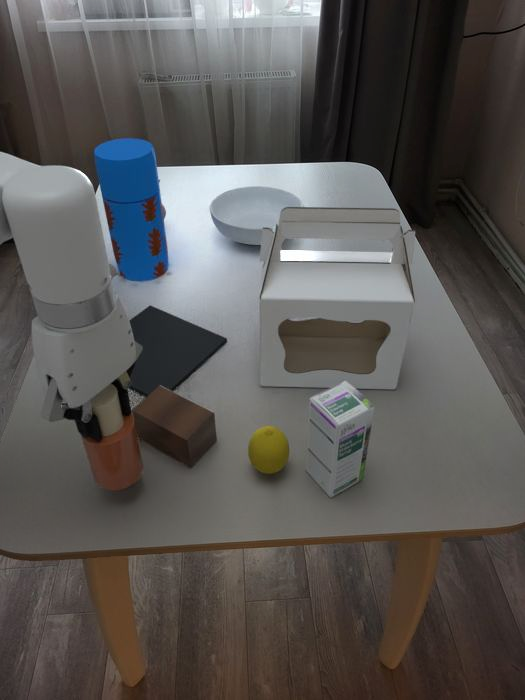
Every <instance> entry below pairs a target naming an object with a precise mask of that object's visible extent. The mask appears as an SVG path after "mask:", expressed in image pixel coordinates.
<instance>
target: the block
mask: <svg viewBox="0 0 525 700" xmlns="http://www.w3.org/2000/svg"><path fill="white" fill-rule="evenodd" d="M131 412H132V414H133V417H134V421H135V426H136V431H137V436H138V440H141V442H142V441H143V442H144V443H146V444H148V446H149V445H150V446H152V447H153V448H154V449H156V450H158V451H160V452H161V453H163V454H165V455H167V456H169V457H171V458H172V459H174V460H176V461H178V462H179V463H181V464H182V465H184V466H186V467H188V468H190V469H192V468H193V467H194V466H195V465H196V464H197V463H198V461H200V459H202V457H204V455H205V454H206V453H207V452H208V451H209V450H210V449H211V448H212V446H214V445H215V443H216V442H217V441H218V439H217V437H218V436H217V427H216V426H217V425H216V415H215V412H214V411H212V410H210V409H208V408H206V407H204V406H202V405H200V404H199V403H196V402H194V401H192V400H190V399H188V398H186V397H185V396H183V395H180V394H179V393H176V392H174V391H173V392H172V391H171V390H169V389H167V388H165V387H163V386H161V385H160V386H159V387H157V388H156V389H155V390H154V391H153V392H152V393H151V394H150V395H148V396H147V397H145V398H144V399H143V400H142V401H140V402H139V403H138V404H137V405H136V406H135V407H133V408H132V409H131Z"/></svg>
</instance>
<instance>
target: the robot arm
mask: <svg viewBox="0 0 525 700" xmlns="http://www.w3.org/2000/svg"><path fill="white" fill-rule="evenodd" d="M11 239H13V242H14V245H15V248H16V250H17V254H18V257H19V260H20V265H21V266H22V270H23V273H24V277H25V279H26V283H27V286H28V289H29V292H30V296H31V299H32V302H33V304H34V308H35V311H36V314H37V315H36V317H34V318H33V319H32V320H31V344H32V351H33V357H34V363H35V367H36V371H37V375H38V379H39V382H40V384H41V388H42V391H43V392H44V393H45V399H44V402H43V405H42V410H41V413H40V415H41V417H42V418H43V419H45V420H47V421H48V422H50V423H55V422H59V421H63V420H68V421H74V422H75V426H76V429H77V432H78V433H79V434H81V435H82V436H84V437H85V438H88V437H90V438H92V439H93V440H95V441H97V442H99V441H100V440H102V437H103V436H102V433H101V429H100V425H99V421H98V418H97V416H96V415H94V414H92V404H91V398H93V397H94V396H95V395H97V394H98V393H99V392H100V391H102V390H103V389H104V388H105V387H107V386H108V385H109V384H110V383H111V384H113V385H114V386H115V387H116V389H117V391H118V396H119V401H120V405H121V410H122V414H123V415H124V416H129V415H130V414H131V413H132V408H131V403H130V402H131V401H130V396H129V389H130V388H129V387H130V385H131V381H130V376H131V373H132V371H133V369H134V366H135V363H134V362H136V360H137V358H138V357H139V355H140V353H141V351H142V349H143V347H142V346H141V345H140V344H138V343H137V342H136V341H134V337H133V333H132V329H131V325H130V322H129V320H130V319H129V316H128V314H127V311H126V308H125V306H124V304H123V302H122V300H121V298H120V296H119V294H118V293H117V292H116V291H115V290H114V284H113V278H115V277H116V276H117V275H118V269H117V268H116V267H115V265H114V264H112V263H109V259H108V252H107V248H106V243H105V238H104V232H103V227H102V221H101V216H100V210H99V207H98V200H97V196H96V192H95V189H94V186H93V183H92V181H91V180H90V179H89V177H88V176H87V175H86V174H85V173H83V172H82V171H81V170H78V169H76V168H73V167H71V166H66V165H38V164H36V163H33V162H30V161H28V160H26V159H22V158H20V157H17V156H14V155H12V154H9V153H6V152H3V151H0V245H2V244H3V243H4V242H7V241H9V240H11ZM63 401H64V402H65V403H64V402H63ZM81 435H80V436H81Z"/></svg>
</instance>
